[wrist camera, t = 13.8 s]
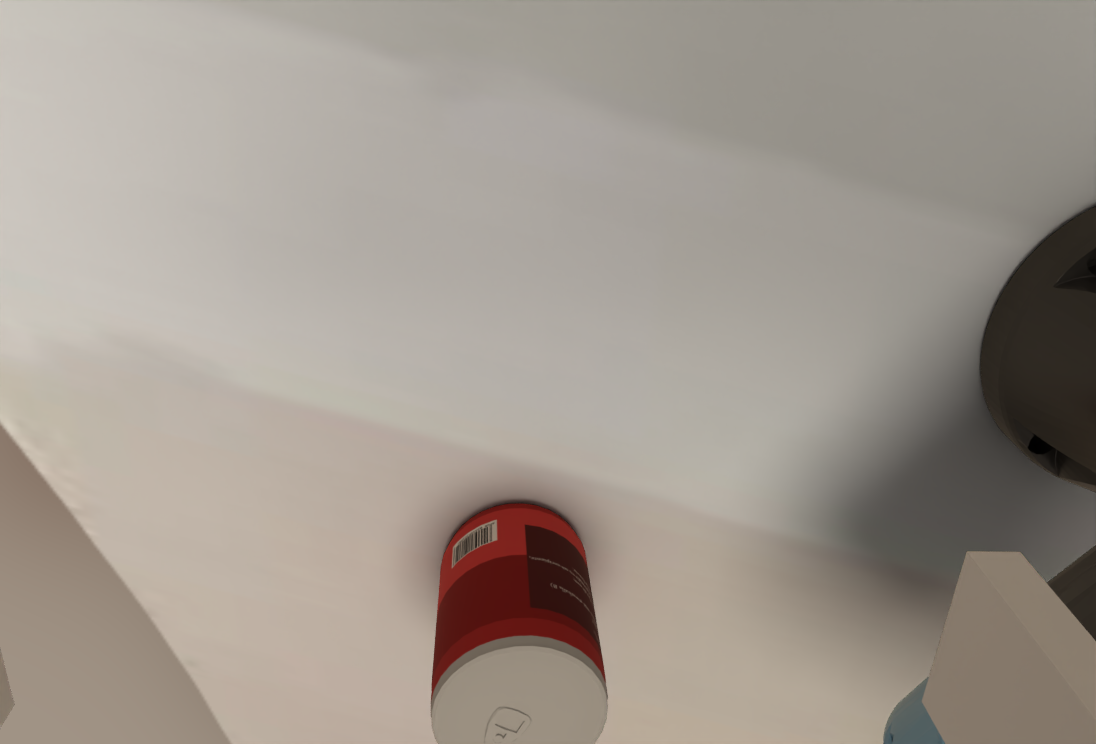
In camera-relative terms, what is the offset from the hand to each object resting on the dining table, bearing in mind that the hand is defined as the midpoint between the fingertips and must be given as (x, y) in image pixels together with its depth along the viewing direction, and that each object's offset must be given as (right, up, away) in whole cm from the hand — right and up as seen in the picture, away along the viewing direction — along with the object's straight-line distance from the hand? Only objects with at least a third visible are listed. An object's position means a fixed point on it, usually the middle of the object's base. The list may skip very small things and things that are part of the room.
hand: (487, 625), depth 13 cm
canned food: (-1, -7, +37) cm, 38 cm away
